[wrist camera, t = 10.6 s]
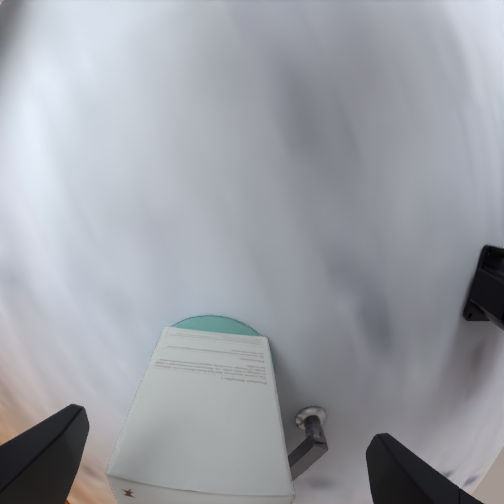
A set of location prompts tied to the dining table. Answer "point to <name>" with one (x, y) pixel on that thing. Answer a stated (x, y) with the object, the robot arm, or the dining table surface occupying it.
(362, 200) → the dining table surface
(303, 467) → the grey cabinet handle
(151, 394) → the supplement box
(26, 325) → the dining table surface
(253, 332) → the teal round disc
